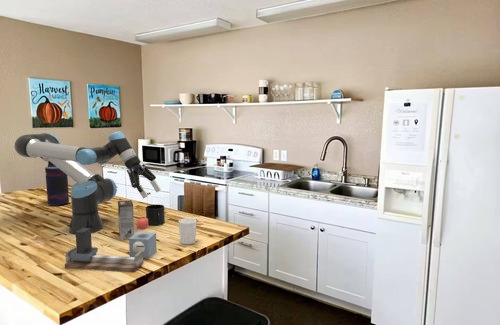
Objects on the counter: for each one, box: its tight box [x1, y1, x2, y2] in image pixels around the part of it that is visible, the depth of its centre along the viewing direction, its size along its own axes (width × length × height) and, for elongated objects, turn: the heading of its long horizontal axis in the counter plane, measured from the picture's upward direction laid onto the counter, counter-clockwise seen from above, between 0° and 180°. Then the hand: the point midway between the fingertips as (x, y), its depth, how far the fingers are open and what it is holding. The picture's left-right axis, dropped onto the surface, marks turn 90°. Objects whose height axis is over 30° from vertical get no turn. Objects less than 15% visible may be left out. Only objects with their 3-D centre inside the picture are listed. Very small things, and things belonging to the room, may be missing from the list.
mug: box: [145, 203, 166, 227], centre depth 180 cm, size 9×12×9 cm
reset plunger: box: [136, 217, 149, 231], centre depth 139 cm, size 4×4×4 cm
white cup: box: [178, 217, 198, 245], centre depth 154 cm, size 8×8×10 cm
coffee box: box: [117, 199, 135, 240], centre depth 161 cm, size 9×6×16 cm
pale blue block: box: [128, 231, 157, 260], centre depth 140 cm, size 8×9×8 cm
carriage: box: [71, 228, 99, 262], centre depth 130 cm, size 7×6×12 cm
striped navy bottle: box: [44, 161, 70, 207], centre depth 216 cm, size 14×12×30 cm
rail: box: [64, 246, 144, 273], centre depth 130 cm, size 28×8×6 cm, turn 84°
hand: (152, 194), depth 176 cm, fingers open, 13 cm apart
